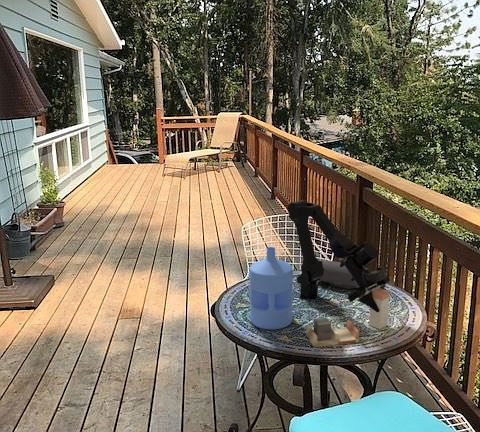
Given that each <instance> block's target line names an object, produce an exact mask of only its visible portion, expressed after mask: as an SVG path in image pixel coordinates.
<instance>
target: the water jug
mask: <svg viewBox="0 0 480 432" xmlns="http://www.w3.org/2000/svg"><path fill="white" fill-rule="evenodd" d="M265 250H266V253H265V255H266V258H264V259H262V260H258V261H256V262H253V263H252V264H251V265H250V266H249V275H248V276H249V277H248V278H249V279H248V280H249V302H250V303H249V306H250V307H249V308H250V311H249V319H250V322H251V324H252V325H254V326H255V327H257V328H259V329H263V330H269V331H272V330H274V331H275V330H279V329H284V328H286V327H288V326H289V325H290V324H291V323H292V321H293V320H294V319H293V317H294V314H293V299H294V298H293V297H294V294H293V279H294V272H293V271H294V270H293V266H292V264H290V263H289V262H287V261H285V260H280V259H278V258H276V248H275V247H273V246H268V247H266V249H265Z"/></svg>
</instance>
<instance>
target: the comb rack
mask: <svg viewBox="0 0 480 432" xmlns="http://www.w3.org/2000/svg"><path fill="white" fill-rule="evenodd" d="M306 337H307V338H308V341H310V343H311V344H312V346H313V348H320V347H326V346H327V347H328V346H335V345H338V346H340V345H341V346H342V345H346V344H355V343H359V341H360V330H359V329H358V328H357V327H356V326H355V324H354V323H353V322H352V321H351V320H350V319H347V320H346V327H343V328H342V327H341V328H335V327H334V325H332V322H331V321H330V320H329V318H328V317H327V316H325V317H319V318H318V317H317V318H316V317H315V318H313V328H312V326H311V325H310V324H307V325H306Z"/></svg>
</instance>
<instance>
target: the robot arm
mask: <svg viewBox="0 0 480 432" xmlns="http://www.w3.org/2000/svg"><path fill="white" fill-rule="evenodd" d="M286 209H287V210H286V211H287V213H288V216H289V219H290V221H292V222H293V223H294V225H295V228H296V233H297V237H298V238H297V239H298V242H299V245H300V250H301V251H300V252H301V255H302V259H303V260H302V263H301V267H300V269H301V270H300V271H301V273H300V275H298V276H297V277H296V282H297V284H299V285H300V286H299V287H300V289H299V293H300V295H299V299H303V300H305V299H306V300H314V301H315V300H316V299H317V297H318V295H319V284H318V282H319V281H321V280H320V279H321V277H322V276H323V274H324V272H323V271H324V268H323V263H322V261H319V260H320V259H318V258H317V256H316V253H315V248H314V244H313V240H312V235H311V230H310V226H309V220H310V217H311V219H312V220H313V221H314V223H315V224H316V226H317V227H318V228H319V230H320V231H321V232H322V233H323V234H324V235H323V236H325V237H326V239H327V240H328V243H329V249H330V250H331V252H332V254H333V256H335V258H337V259H341V260H340V267H343V266H345V267H346V268H347V270H348V271H349V273H350V274H351V276H352V279H351V281H352V282H353V281H355V282H356V284H357V285H358V287H359V288H355V289H354V290H352V291H351V292H349V293H348V294H347V300H348V301H349V302H350V303H352V302H355V301H357V302H360V303H361V304H363V305H365V306H367V307H369V309H370V308H371V309H373V310H374V311H376V312H379V311H380V310H379V308H378V306H377V304H376V303H375V301H374V299H373V297H372V291H373V290H375V289H377V288H381V289H383V290H386V288H385V287H387V284H388V283H390V282H391V279H390V278H389V276H388V275H387V270H386V268H385V267H384V266H383V265H382V266H381V265H380V266H378V267H376V270H374V271H372V270H371V269H370V268H367V267H365V266H367V265H369V264H370V263H371V262H373V261H375V259H377V258H378V256H379V252H378V249H377V248H376V247H374V246H373V245H372V244H369V243H368V241H363V242H362V243H361V244H360V245H358V244H356V243H354V242H353V241H352V240H350V238H349V237H348V236H346V235H344V234H343V233H341V232H340V231H339V230H338V229H337V227H336V226H335V224H334V223H333V222H332V221H331V219H330V218H329V217H328V216H327V214H326V213H325V211H324V210H323V207H322V205H320V204H315V203H313V202H308V201H306V200H304V199H301V200H295V201H293V202H290V203H289V204H288V205H287V208H286ZM366 268H367V269H366Z"/></svg>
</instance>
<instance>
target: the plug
mask: <svg viewBox="0 0 480 432" xmlns="http://www.w3.org/2000/svg"><path fill="white" fill-rule="evenodd" d="M371 291H372V290H371ZM390 293H391V292H390V291H389V290H386V289H384V290H383V289H381V288H377V289H375V290H373V291H372V297H373V299H374V301H375V303H376V304H377V306H378V308H379V310H380V311H379V312H376V311H374V310H373V309H371V308H370V307H369V321H368V322H369V323H368V325H369V326H370V327H373V328H376V329H378V330H381V329H383V328H385V327H386V326H387V327H388V319H389V307H390Z"/></svg>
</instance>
